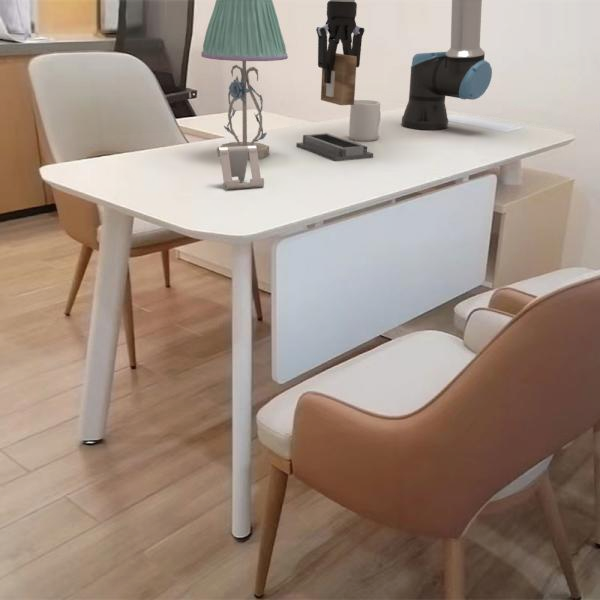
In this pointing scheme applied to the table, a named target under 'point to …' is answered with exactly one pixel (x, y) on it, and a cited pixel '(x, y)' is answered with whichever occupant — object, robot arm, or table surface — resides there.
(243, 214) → the table surface
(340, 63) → the brown wooden block
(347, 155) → the base
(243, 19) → the table lamp
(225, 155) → the portable electronic device stand
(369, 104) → the mug
